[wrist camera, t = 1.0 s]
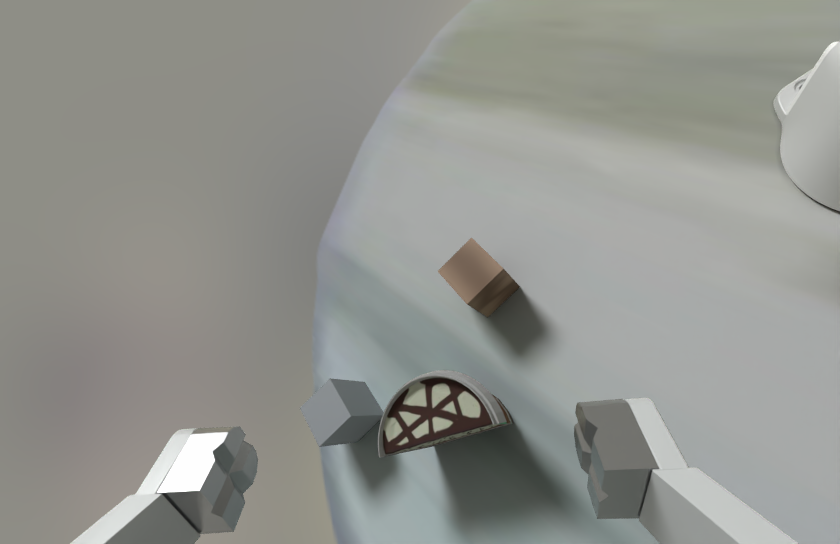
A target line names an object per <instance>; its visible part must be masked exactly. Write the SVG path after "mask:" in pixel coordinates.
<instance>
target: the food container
mask: <svg viewBox="0 0 840 544" xmlns="http://www.w3.org/2000/svg"><path fill="white" fill-rule="evenodd" d="M510 424H513V421H512V419H511V416H510V414H509V412H508V410H507V409H506V408H505V406H504V405H503V404H502V402H501V401H500V400H499V399H498V398H496V397H495V396H494V395H492V394H491V393H490V392H489V391H488V390H487V389H486V388H485V387H484V386H483V385H482V384H481V383H479V382H478V381H476V380H475V379H473V378H471V377H469V376H467V375H465V374H462V373H459V372H455V371H447V370H441V371H433V372H429V373H426V374H423V375H420V376H418V377H416V378H414V379H412V380H410V381H409V382H407V383H406V384H404V385H403V386H402V387H401V388H400V389H399V390H398V391H397V392H396V394H395V395H394V396H393V397H392V399H391V400H390V402H389V403H388V405H387V407H386V409H385V411H384V413H383V416H382V419H381V423H380V426H379V433H378V453H379V457H380V458H381V457H386V456H389V455H394V454H399V453H404V452H408V451H413V450H418V449H423V448H428V447H432V446H436V445H440V444H443V443H447V442H450V441H454V440H457V439H461V438H464V437H468V436H471V435H475V434H478V433H482V432H485V431H489V430H492V429H496V428H499V427H503V426H506V425H510Z"/></svg>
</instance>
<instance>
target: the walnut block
mask: <svg viewBox="0 0 840 544" xmlns="http://www.w3.org/2000/svg"><path fill="white" fill-rule="evenodd" d="M438 272H439V273H440V275H441V276H442V277H443V278H444V279H445V280H446V281H447V282H448V283H449V285H450V286H451V287H452V288H453V289H454V290H455V291H456V292H457V294H458V295H459V296H460V297H461V298H462V299H463V300H464V301H465V303H466V304H468V305H469V306H471V307H472V308H474V309H475V310H477V311H479V312H480V313H482V314H483V315H485V316H487V317H489V316H490V315H491V314H492V313H493V312H494V311H495V310H496V309H497V308H498V307H499V306H500V305H501V304H502V303H503V302H505V301H506V300H507V299H508V298H509V297H510V296H511V295H512V294H513V293H514V292H515V291H516V290H517V289H518V288H519V287H520V286H519V285H518V284H517V283H516V282H515V281H514V280H513V279H512V278H511V276H510V275H509V274H508V273H507V272H506V271H505V270H504V269H503V268H502V267H501V266H500V265H499V264H498V263H497V262H496V261H495V260H494V259H493V258H492V257H491V256H490V255H489V254H488V253H487V252H486V251H485V250H484V249H483V248H482V247H481V246H480V245H479V244H478V243H476V242H475V241H474V240H473V239H472V238H471V239H470V240H469V241H468V242H467V243H466V244H465V245H464V246H463V247H462V248H461V249H460V250H459V251H458V252H457V253H456V254H455V255H454V256H453V257H452V258H451V259H450V260H449V261H448V262H447V263H446V264H445V265H443V266H442V267H441V268H440V269H439V270H438Z"/></svg>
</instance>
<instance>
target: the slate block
mask: <svg viewBox="0 0 840 544" xmlns="http://www.w3.org/2000/svg"><path fill="white" fill-rule="evenodd" d="M300 409H301V411H302V413H303V415H304V417H305V419H306V421H307V423H308V425H309V427H310V429H311V431H312V433H313V435H314V437H315V439H316V442H317V444H318V446H319V447H322V446H330V445H338V444H346V443H354V442H358V441H359V440H360V439H361V438H362V437H363V436H364V435H365V434H366V433H367V432H368V431H369V430H370V429H371V428H372V427H373V426H374V425H375V424H376V423H377V422H379V421H380V420H381V419H382V416H383V413H384V412H383V411H382V409H381V408H380V406H379V404H378V403H377V401H376V399H375V398H374V396H373V395H372V393H371V391H370V390H369V388H368V387H367V385H366V383H365V382H359V381H349V380H339V379H329V380H328V381H327V382H326V383H325V384H324V385H323V386H322V387H321V388H320V389H319V390H318V391H317V392H316V393H315V394H314V395H313V396H312V397H311V398H310V399H309V400H308V401H307V402H306V403H305V404H304V405H303V406H302V407H301V408H300Z"/></svg>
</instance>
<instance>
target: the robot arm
mask: <svg viewBox="0 0 840 544" xmlns="http://www.w3.org/2000/svg"><path fill="white" fill-rule="evenodd" d="M774 109H775V111H776V114H777V116H778V118H779V120H780V121H781V123H782V136H781V143H780V153H781V159H782V162H783V165H784V168H785V170H786V172H787V174H788V175H789V177H790V178H791V180H792V181H793V182H794V183H795V184H796V185H797V186H798V187H799V188H800V189H801V190H802V191H803V192H804V193H806V194H807V195H808V196H810V197H811V198H813V199H814V200H816V201H818V202H819V203H821V204H823V205H825V206H827V207H830V208H832V209H835V210H837V211H840V41H839V42H833V43H832V44H831V45H830V46H829V47H828V48H827V49H826V50H825V51H824V53H823V54H822V56H821V57H820V59H819V60H818V62H817V64H816V65H815V67H814V68H813V69H811V70H810V71H808V72H807V73H805V74H804V75H802V76H801V77H799V78H798V79H796V80H795V81H793V82H792V83H790V84H789V85H787V86H786V87H784V88H783V89H782V90H781V91H780V92H779V93H778V95H777V96H776V97H775V99H774ZM576 416H577V419H578V423H577V424H576V425H575V427H574V438H575V447H576V451H577V455H578V459H579V462H580V466H581V468H582V469H583V470H584V471H585V472H586V473H587V474H588V484H587V489H588V492H589V495H590V498H591V501H592V504H593V508H594V511H595V514H596V517H597V519H617V518H639V521H640V522H641V523H642V524H643V526H644V527H645V528H646V529H647V530H648V531H649V532H650V533H651V534H652V535H653V536H654V537H655V538H656V540H657V541H658V542H659V543H660V544H799V543H797V542H796V541H795V540H793V539H792V538H791V537H789V536H788V535H787V534H785V533H784V532H783V531H781V530H780V529H779V528H777V527H776V526H775V525H773V524H772V523H771V522H769V521H768V520H767V519H765V518H764V517H763V516H761V515H760V514H759V513H757V512H756V511H755V510H753V509H752V508H751V507H749V506H748V505H747V504H745V503H744V502H743V501H741V500H740V499H738V498H737V497H736V496H734V495H733V494H732V493H730V492H729V491H728V490H726V489H725V488H724V487H722V486H721V485H720V484H718V483H717V482H716V481H714V480H713V479H712V478H710V477H709V476H708V475H706V474H705V473H704V472H702V471H701V470H700V469H698V468H689V466H688V464H687V463H686V461H685V459H684V457H683V455H682V453H681V452H680V450H679V448H678V446H677V444H676V443H675V441H674V439H673V437H672V435H671V433H670V432H669V430H668V428H667V426H666V424H665V423H664V421H663V419H662V417H661V415H660V413H659V412H658V410H657V408H656V406H655V404H654V403H653V401H652V400H650V399H649V398H636V399H624V400H623V399H615V400H603V401H591V402H579V403H577V405H576ZM244 437H245V433H244V432H243V430H242V429H241V427H220V428H196V429H180V430H178V431H177V432H176V433H175V434H173V436H172V437H171V439H170V440H169V442H168V444H167V445H166V446H165V448H164V450H163V452H162V453H161V454H160V456H159V458H158V459H157V461H156V463H155V464H154V466H153V467H152V469H151V471H150V472H149V474H148V475H147V477H146V478H145V480H144V482H143V483H142V485H141V486H140V488H139V490H138V491H137V493H136V494H135V495H129V496H128V497H127V498H125V499H124V500H123V501H122V502H121V503H119V504H118V505H117V506H116V507H114V508H113V509H112V510H111V511H109V512H108V513H107V514H106V515H105V516H103V517H102V518H101V519H100V520H99V521H97V522H96V523H95V524H94V525H92V526H91V527H90V528H89V529H87V530H86V531H85V532H84V533H83V534H81V535H80V536H79V537H78V538H76V539H75V540H74V541H73V542H72V543H70V544H194V543H195V542H196V541H197V540H198V538H199V537H200V534H207V533H222V532H234V529H235V527H236V525H237V522H238V519H239V517H240V514H241V512H242V509H243V507H244V504H245V500H244V497H243V493H244V492H245V491H246V490H247V489H248V488H249V487H250V486H251V485H252V484H253V481H254V478H255V476H256V473H257V464H258V458H257V453H256V451H255V449H254V447H253V445H251V444H249V443H247V442H245V441H244Z"/></svg>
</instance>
